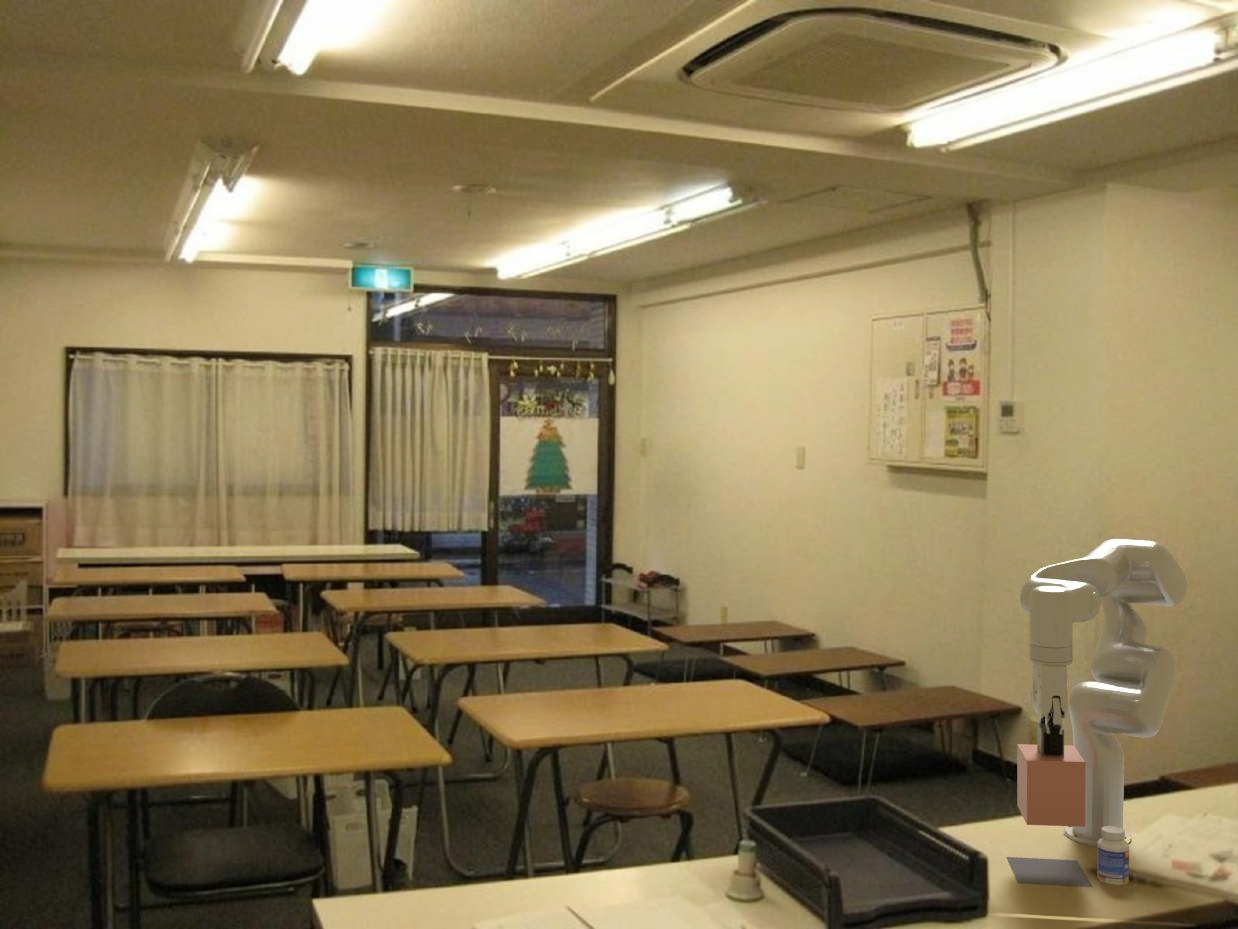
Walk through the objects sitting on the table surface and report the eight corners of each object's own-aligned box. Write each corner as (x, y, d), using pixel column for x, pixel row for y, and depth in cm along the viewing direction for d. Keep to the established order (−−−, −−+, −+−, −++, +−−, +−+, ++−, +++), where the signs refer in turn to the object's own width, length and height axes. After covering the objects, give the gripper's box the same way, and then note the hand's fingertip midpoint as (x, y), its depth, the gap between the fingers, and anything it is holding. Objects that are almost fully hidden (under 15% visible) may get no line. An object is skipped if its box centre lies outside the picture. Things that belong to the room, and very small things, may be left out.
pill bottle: (1131, 888, 220) (1132, 835, 220) (1099, 886, 221) (1100, 833, 221) (1125, 877, 225) (1126, 825, 225) (1094, 874, 226) (1095, 823, 226)
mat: (1006, 859, 234) (1006, 857, 234) (1077, 863, 232) (1077, 860, 232) (1018, 885, 221) (1018, 883, 221) (1092, 889, 219) (1092, 887, 219)
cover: (1017, 805, 233) (1017, 718, 232) (1073, 807, 231) (1073, 719, 230) (1026, 824, 223) (1026, 733, 222) (1085, 826, 221) (1085, 734, 220)
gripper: (1021, 643, 234) (1021, 737, 235) (1038, 663, 217) (1038, 764, 218) (1062, 644, 233) (1062, 738, 234) (1082, 664, 216) (1081, 765, 217)
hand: (1050, 750), depth 226 cm, fingers closed on cover, 4 cm apart
